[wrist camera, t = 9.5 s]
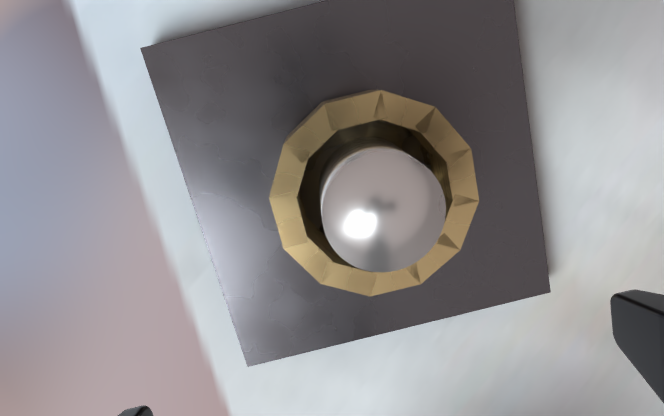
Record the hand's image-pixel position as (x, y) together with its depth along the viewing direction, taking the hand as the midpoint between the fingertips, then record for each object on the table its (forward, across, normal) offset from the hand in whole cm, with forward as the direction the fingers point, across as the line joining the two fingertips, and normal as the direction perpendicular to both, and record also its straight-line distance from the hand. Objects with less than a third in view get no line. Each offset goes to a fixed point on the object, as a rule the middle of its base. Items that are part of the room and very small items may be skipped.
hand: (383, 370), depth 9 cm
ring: (+10, -1, -1) cm, 10 cm away
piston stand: (+12, -1, -1) cm, 12 cm away
